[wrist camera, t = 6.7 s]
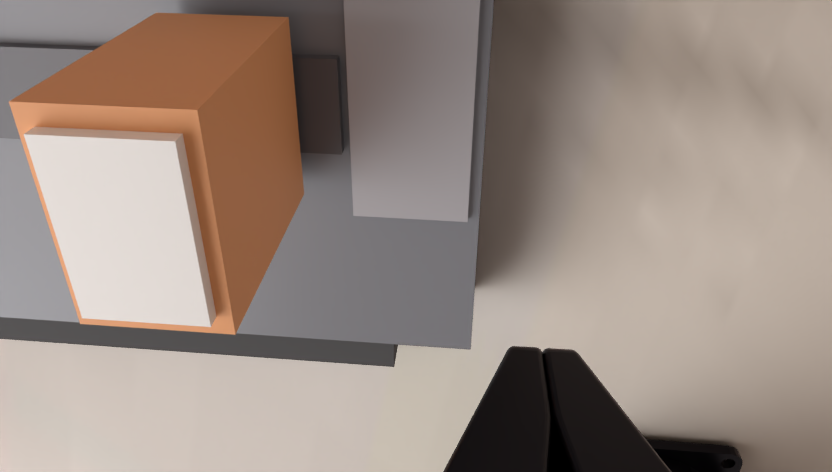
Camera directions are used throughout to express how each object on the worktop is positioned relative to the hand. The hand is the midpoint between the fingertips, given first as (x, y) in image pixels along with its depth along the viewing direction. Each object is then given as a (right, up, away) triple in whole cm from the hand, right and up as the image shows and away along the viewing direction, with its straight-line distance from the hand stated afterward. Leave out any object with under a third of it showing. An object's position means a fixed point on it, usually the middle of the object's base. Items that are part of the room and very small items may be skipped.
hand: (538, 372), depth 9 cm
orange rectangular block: (-6, +5, +7) cm, 11 cm away
